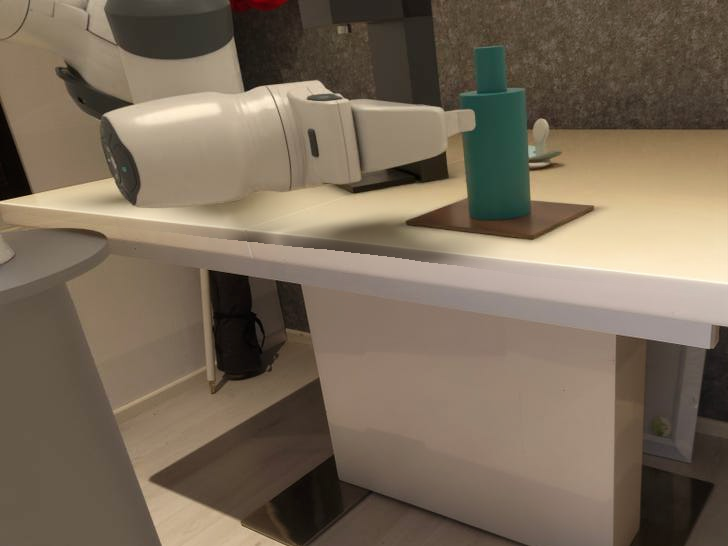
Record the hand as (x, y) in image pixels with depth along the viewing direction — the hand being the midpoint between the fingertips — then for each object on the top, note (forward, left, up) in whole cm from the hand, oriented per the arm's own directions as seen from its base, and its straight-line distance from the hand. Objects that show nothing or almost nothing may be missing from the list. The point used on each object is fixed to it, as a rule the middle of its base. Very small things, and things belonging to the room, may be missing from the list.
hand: (449, 115), depth 65 cm
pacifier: (+30, +10, -11) cm, 34 cm away
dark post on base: (+17, +27, -11) cm, 33 cm away
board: (+4, -2, -11) cm, 12 cm away
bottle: (+5, -2, -10) cm, 11 cm away
